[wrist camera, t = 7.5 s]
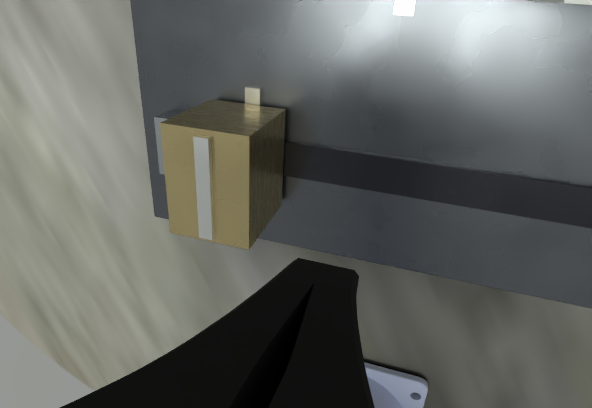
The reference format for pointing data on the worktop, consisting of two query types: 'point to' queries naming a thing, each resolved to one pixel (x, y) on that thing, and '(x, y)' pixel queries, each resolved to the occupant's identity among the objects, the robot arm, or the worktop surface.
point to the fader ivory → (567, 1)
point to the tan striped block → (223, 170)
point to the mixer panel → (402, 126)
